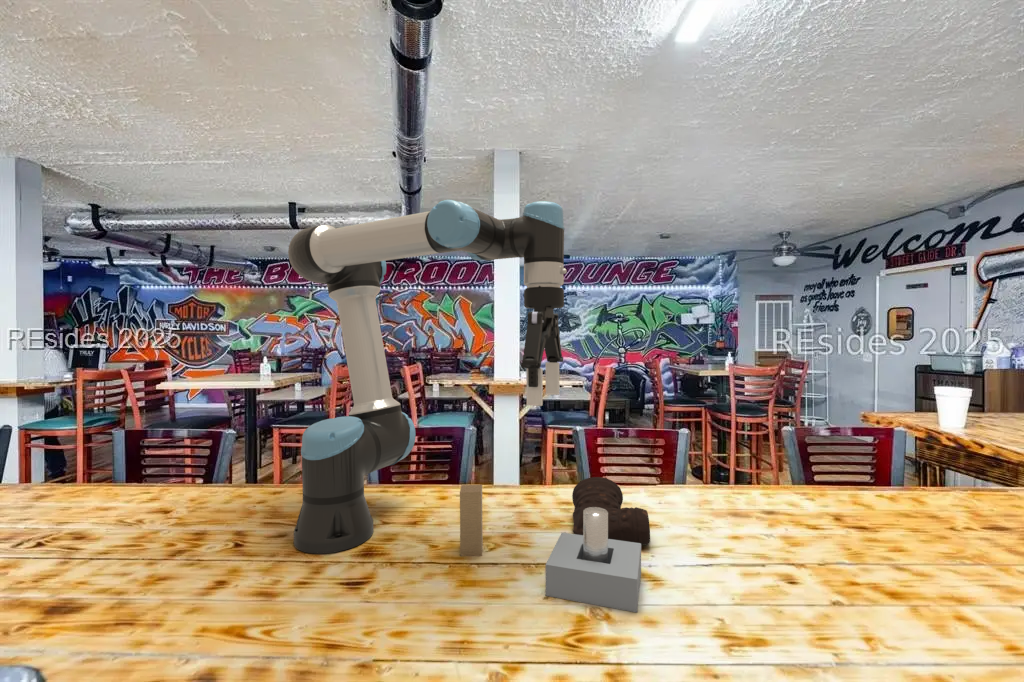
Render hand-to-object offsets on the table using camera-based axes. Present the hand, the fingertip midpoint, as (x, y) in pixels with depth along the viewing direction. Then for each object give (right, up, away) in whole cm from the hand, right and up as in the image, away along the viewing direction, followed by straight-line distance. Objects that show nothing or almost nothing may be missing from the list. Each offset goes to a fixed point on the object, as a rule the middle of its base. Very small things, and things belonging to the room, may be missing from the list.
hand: (544, 399), depth 88 cm
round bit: (+8, -29, -11) cm, 32 cm away
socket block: (+8, -29, -11) cm, 32 cm away
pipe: (+14, -29, +8) cm, 33 cm away
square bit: (-14, -29, 0) cm, 32 cm away
